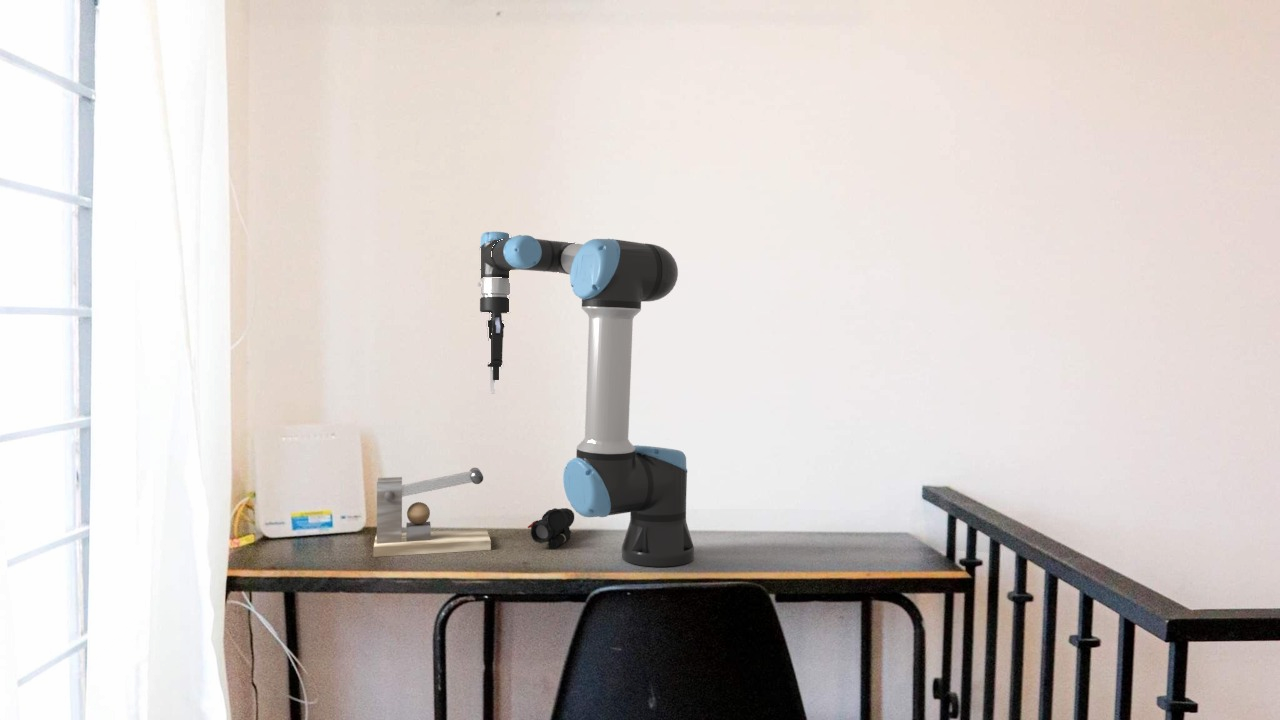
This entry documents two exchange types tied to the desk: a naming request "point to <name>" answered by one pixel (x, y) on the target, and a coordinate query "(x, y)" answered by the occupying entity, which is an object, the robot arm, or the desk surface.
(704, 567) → the desk surface
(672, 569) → the desk surface
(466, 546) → the press base
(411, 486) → the lever
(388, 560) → the desk surface
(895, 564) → the desk surface
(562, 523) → the night vision scope
